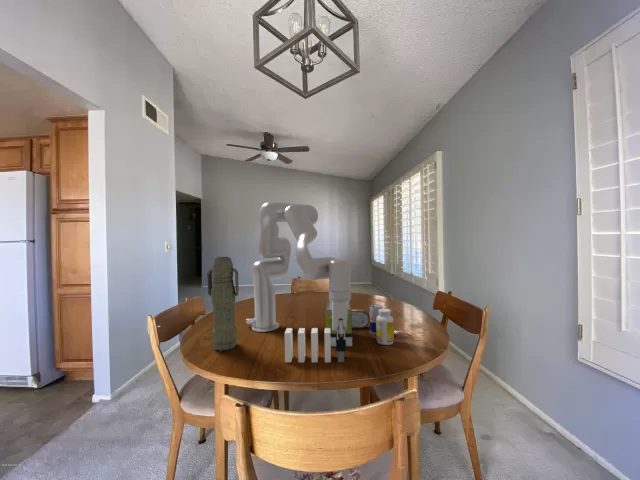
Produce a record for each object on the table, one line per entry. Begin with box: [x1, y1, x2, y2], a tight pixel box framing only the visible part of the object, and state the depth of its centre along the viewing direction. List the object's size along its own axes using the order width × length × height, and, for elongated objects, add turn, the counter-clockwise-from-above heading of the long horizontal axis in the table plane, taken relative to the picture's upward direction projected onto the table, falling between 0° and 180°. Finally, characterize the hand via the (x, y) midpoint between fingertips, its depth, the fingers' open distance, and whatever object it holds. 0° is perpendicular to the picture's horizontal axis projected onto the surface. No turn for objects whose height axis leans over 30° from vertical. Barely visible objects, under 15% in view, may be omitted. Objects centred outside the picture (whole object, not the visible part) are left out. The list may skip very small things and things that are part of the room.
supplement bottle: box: [376, 308, 395, 346], centre depth 112 cm, size 7×7×13 cm
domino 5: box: [337, 328, 345, 363], centre depth 98 cm, size 2×5×10 cm, turn 177°
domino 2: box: [297, 327, 306, 363], centre depth 98 cm, size 2×5×10 cm, turn 178°
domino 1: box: [284, 327, 294, 363], centre depth 98 cm, size 2×5×10 cm, turn 178°
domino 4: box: [323, 327, 332, 363], centre depth 98 cm, size 2×5×10 cm, turn 178°
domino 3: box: [310, 327, 319, 363], centre depth 98 cm, size 2×5×10 cm, turn 178°
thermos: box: [206, 256, 240, 352], centre depth 110 cm, size 9×12×35 cm
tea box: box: [325, 300, 353, 348], centre depth 116 cm, size 15×10×15 cm, turn 177°
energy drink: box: [368, 303, 383, 336], centre depth 122 cm, size 5×5×12 cm
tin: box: [351, 308, 370, 329], centre depth 130 cm, size 15×3×8 cm, turn 84°
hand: (340, 346), depth 98 cm, fingers open, 6 cm apart
